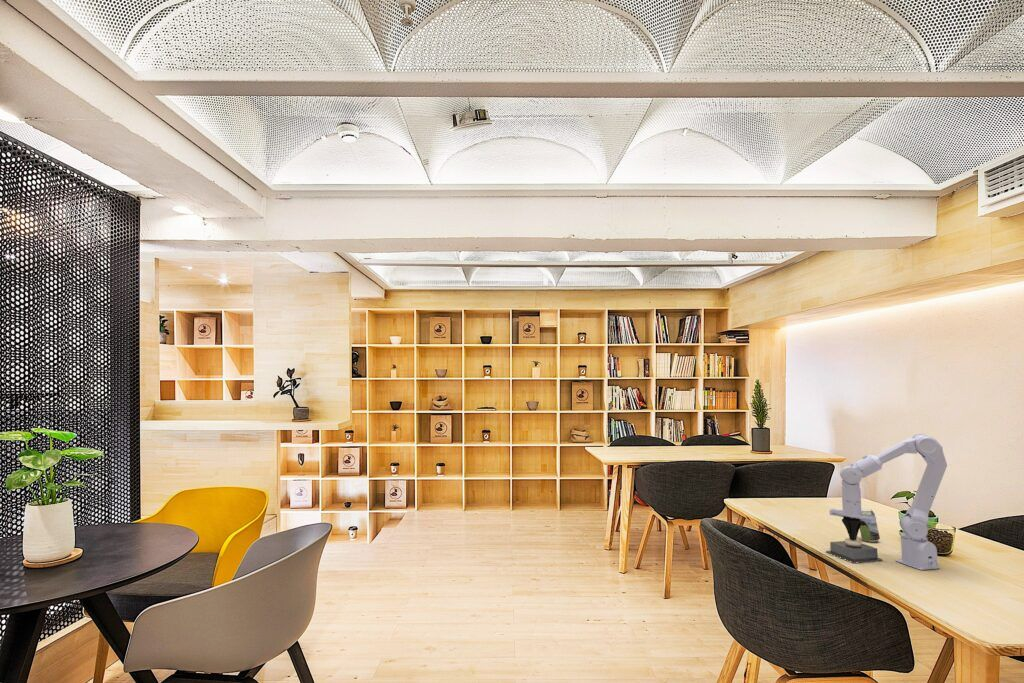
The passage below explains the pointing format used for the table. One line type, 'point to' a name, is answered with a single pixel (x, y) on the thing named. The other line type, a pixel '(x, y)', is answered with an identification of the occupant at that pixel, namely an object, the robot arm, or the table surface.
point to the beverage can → (869, 528)
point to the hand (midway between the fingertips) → (853, 539)
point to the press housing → (854, 552)
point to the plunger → (853, 542)
